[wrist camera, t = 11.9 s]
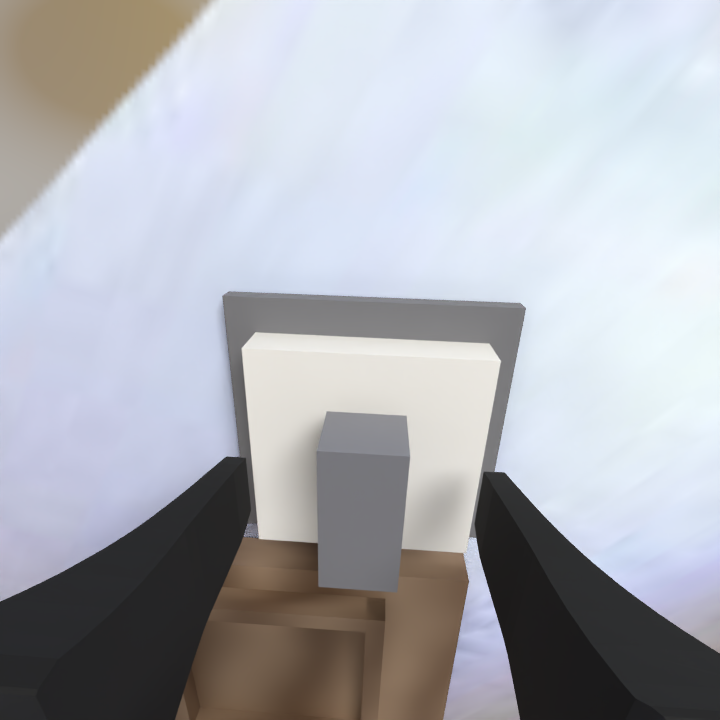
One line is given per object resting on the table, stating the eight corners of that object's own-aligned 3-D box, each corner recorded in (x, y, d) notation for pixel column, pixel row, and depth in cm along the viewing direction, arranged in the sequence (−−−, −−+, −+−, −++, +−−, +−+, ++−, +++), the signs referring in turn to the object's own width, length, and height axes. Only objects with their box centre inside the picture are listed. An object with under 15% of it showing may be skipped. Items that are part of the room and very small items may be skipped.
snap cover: (489, 343, 14) (533, 411, 10) (459, 523, 17) (482, 631, 13) (255, 332, 14) (202, 393, 10) (269, 510, 17) (232, 613, 13)
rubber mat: (520, 303, 14) (525, 308, 13) (478, 526, 18) (481, 538, 17) (228, 291, 14) (222, 295, 14) (251, 512, 18) (247, 522, 18)
